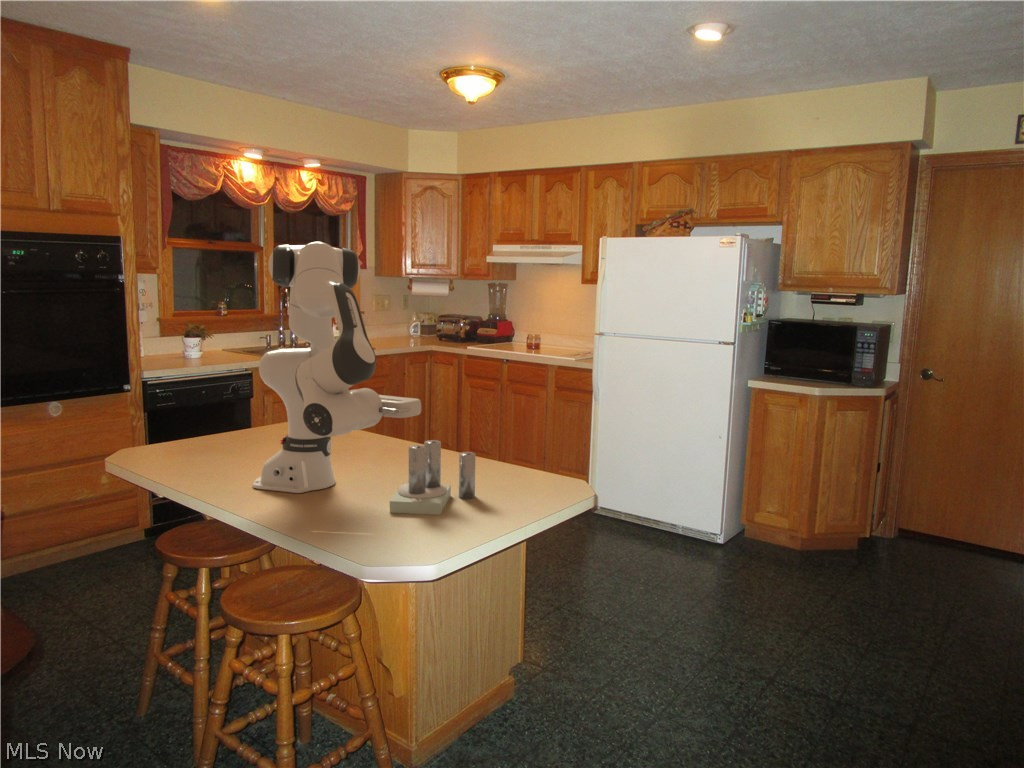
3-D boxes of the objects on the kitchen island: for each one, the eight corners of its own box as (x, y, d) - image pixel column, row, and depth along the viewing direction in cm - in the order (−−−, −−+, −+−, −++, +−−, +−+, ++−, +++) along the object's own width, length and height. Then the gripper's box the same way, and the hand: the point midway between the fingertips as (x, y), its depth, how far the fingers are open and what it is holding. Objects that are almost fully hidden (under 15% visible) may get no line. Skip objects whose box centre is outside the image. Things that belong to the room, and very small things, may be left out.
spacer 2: (422, 487, 189) (422, 443, 188) (425, 482, 194) (426, 439, 192) (439, 488, 189) (439, 444, 187) (441, 483, 193) (442, 440, 192)
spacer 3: (457, 498, 192) (458, 455, 191) (460, 493, 197) (460, 451, 195) (473, 499, 192) (474, 456, 190) (475, 494, 196) (476, 452, 195)
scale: (389, 512, 180) (389, 498, 179) (403, 493, 195) (403, 481, 195) (440, 514, 179) (440, 501, 178) (450, 495, 195) (450, 483, 194)
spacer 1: (406, 494, 183) (406, 448, 182) (410, 489, 188) (410, 444, 186) (423, 494, 183) (423, 449, 181) (426, 489, 187) (427, 445, 186)
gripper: (402, 398, 154) (434, 390, 167) (325, 390, 162) (361, 383, 175) (402, 427, 155) (434, 417, 167) (326, 417, 163) (362, 408, 176)
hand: (396, 399), depth 171 cm, fingers open, 8 cm apart
